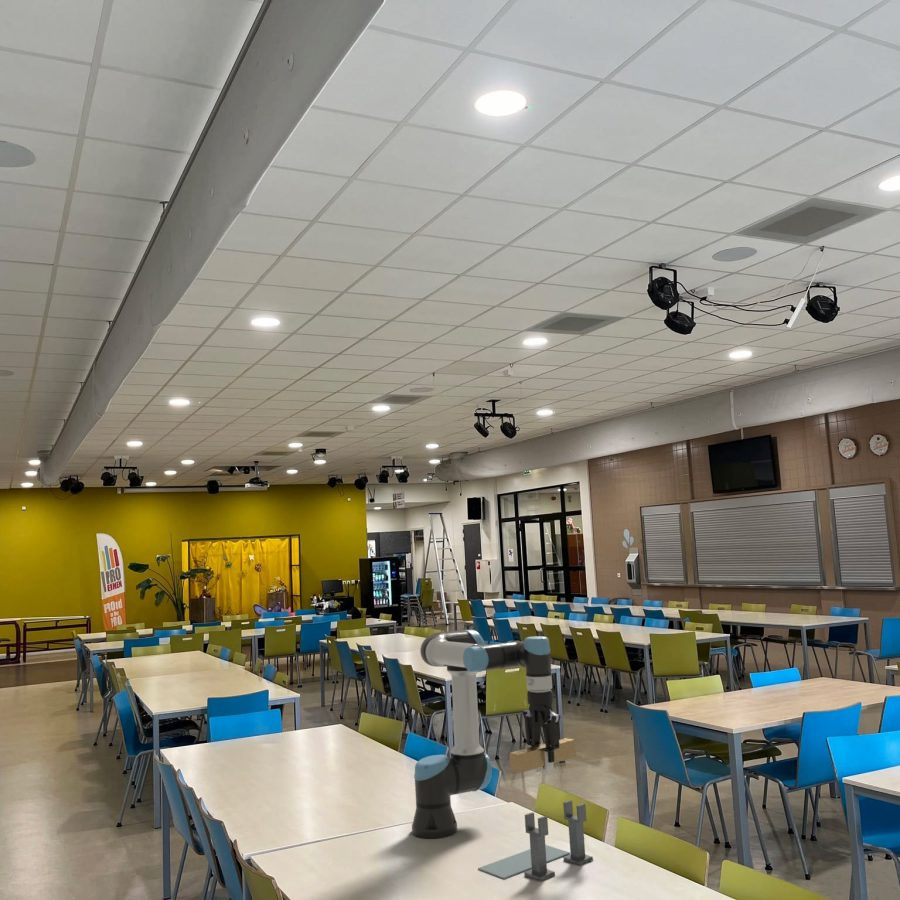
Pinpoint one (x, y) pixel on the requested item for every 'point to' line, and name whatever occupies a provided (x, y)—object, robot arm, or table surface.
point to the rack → (538, 834)
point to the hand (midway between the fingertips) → (544, 772)
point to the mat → (519, 863)
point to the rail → (540, 756)
